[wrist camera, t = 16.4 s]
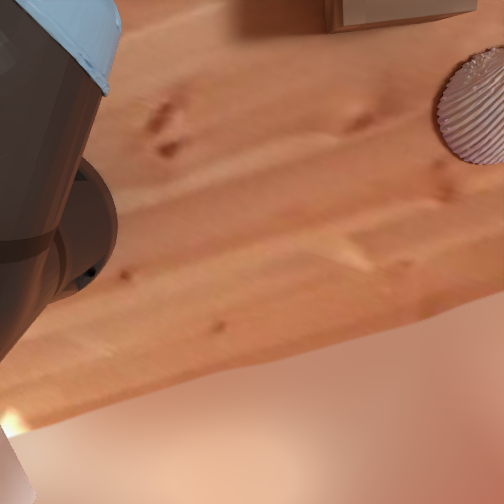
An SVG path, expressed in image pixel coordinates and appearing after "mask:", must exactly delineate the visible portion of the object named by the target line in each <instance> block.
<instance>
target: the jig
mask: <svg viewBox="0 0 504 504" xmlns="http://www.w3.org/2000/svg"><path fill="white" fill-rule="evenodd" d="M324 5H325V26H326V34H332V33H340V32H349V31H357V30H365V29H374V28H382V27H390V26H399V25H407V24H416V23H424V22H432V21H438V20H442V19H445V18H449V17H453V16H456V15H460V14H464V13H467V12H471V11H475V10H477V0H324Z"/></svg>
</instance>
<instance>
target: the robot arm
mask: <svg viewBox="0 0 504 504" xmlns="http://www.w3.org/2000/svg"><path fill="white" fill-rule="evenodd" d="M120 36H121V19H120V16H119V12H118V10H117V7H116V5H115V3H114V1H113V0H0V362H1V361H2V360H3V359H4V357H5V356H6V355H7V354H8V352H9V351H10V350H11V349H12V348H13V346H14V345H15V344H16V343H17V342H18V340H19V339H20V338H21V337H22V335H23V334H24V333H25V332H26V331H27V329H28V328H29V327H30V326H31V324H32V323H33V322H34V321H35V320H36V318H37V317H38V316H39V315H40V313H41V312H42V311H43V310H44V309H45V307H46V306H47V305H48V304H50V303H53V302H56V301H58V300H61V299H64V298H66V297H69V296H71V295H73V294H75V293H77V292H79V291H80V290H82V289H83V288H85V287H86V286H87V285H88V284H90V283H91V282H92V281H93V280H94V279H95V278H96V277H97V276H98V274H99V273H100V272H101V270H102V269H103V267H104V266H105V265H106V263H107V262H108V260H109V258H110V256H111V254H112V252H113V249H114V246H115V243H116V238H117V229H118V224H117V213H116V208H115V205H114V201H113V198H112V196H111V194H110V191H109V189H108V187H107V185H106V184H105V182H104V181H103V179H102V178H101V176H100V175H99V174H98V172H97V171H96V170H95V169H94V168H93V167H92V165H91V164H90V163H89V162H87V161H86V160H85V159H84V158H83V157H82V155H83V152H84V149H85V146H86V143H87V140H88V137H89V134H90V131H91V128H92V125H93V122H94V119H95V116H96V114H97V111H98V108H99V105H100V102H101V99H102V96H104V97H107V95H108V92H109V85H108V82H107V81H108V78H109V75H110V71H111V68H112V64H113V61H114V57H115V54H116V50H117V47H118V43H119V40H120ZM36 496H37V494H36V493H35V491H34V489H33V487H32V485H31V483H30V481H29V479H28V477H27V475H26V474H25V472H24V470H23V468H22V466H21V464H20V462H19V460H18V458H17V456H16V454H15V452H14V450H13V449H12V446H11V445H10V443H9V441H8V439H7V437H6V435H5V433H4V431H3V429H2V427H1V425H0V504H33V502H34V500H35V498H36Z"/></svg>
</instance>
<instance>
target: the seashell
mask: <svg viewBox="0 0 504 504" xmlns="http://www.w3.org/2000/svg"><path fill="white" fill-rule="evenodd" d="M472 59H474V60H471V61H470V62H467V63H465V64H463V65H462V66H461V67H462V68H461V69H460V70H458V71H457V72H455V75H454V76H453V77H452V78H450V79H449V80H450V82H449V83H448V84H447V85H446V86H445V87H447V89H446V90H445V91H444V92H443V93H442V94H444V95H443V96H442V98H441V99H439V100H440V101H441V102H440V103H439V104H438V106H437V108H439V110H438V111H437V115H439V116H440V117H439V118H438V119H437V121H438V124H440V125H441V126H440V127H439V128H440V131H441V132H442V133H443V135H442V136H444V137H443V138H444V140H445V141H446V142H447V143H448V145H447V146H448V147H450V148H452V152H454V153H455V154H456V153H457V154H458V155H459V156H460V158H463V157H464V159H463V161H466V162H468V161H471V162H472V163H473V164H474V163H477V164H479V165H481V164H486V165H489V164H492V163H493V164H497V163H499V162H504V49H503V48H499V49H495V48H490V50H489V52H485V53H481V54H477V55H475V56H473V57H472Z"/></svg>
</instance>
